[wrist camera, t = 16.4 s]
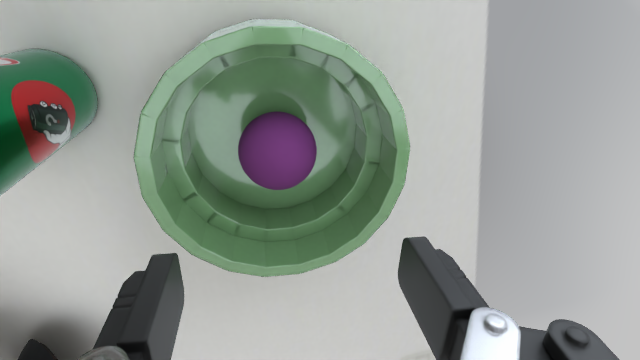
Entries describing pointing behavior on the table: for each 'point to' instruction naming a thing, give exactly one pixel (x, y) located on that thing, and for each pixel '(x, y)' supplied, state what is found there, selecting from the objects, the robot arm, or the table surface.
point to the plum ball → (277, 150)
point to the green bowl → (223, 139)
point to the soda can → (39, 109)
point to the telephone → (36, 352)
